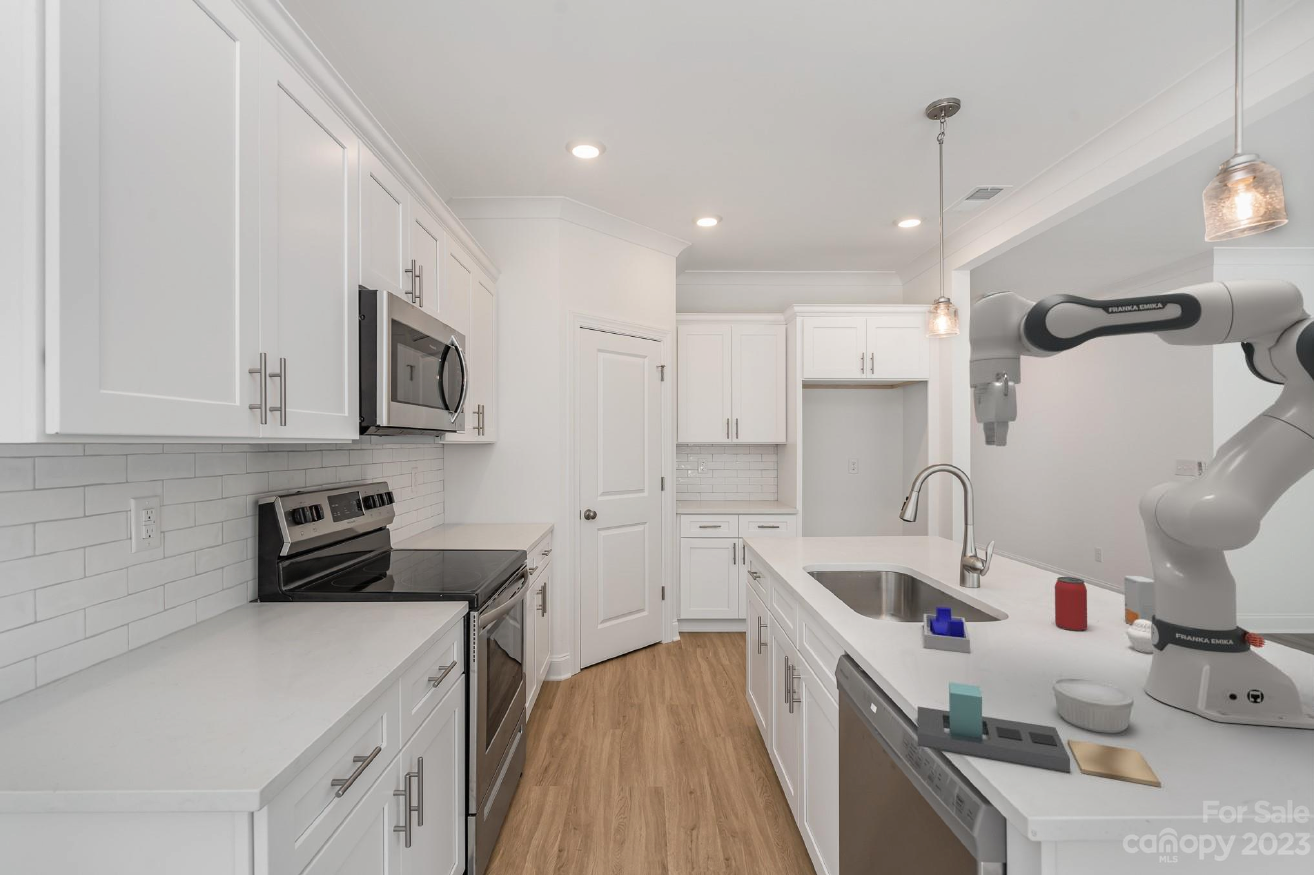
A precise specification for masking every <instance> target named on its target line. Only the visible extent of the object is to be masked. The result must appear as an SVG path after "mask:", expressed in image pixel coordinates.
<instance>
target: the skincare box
mask: <svg viewBox="0 0 1314 875" xmlns="http://www.w3.org/2000/svg"><path fill="white" fill-rule="evenodd" d="M1123 577H1124V622H1125V623H1126V624H1129V626H1130V625H1131V626H1132V625H1133V623H1134V621H1135V620H1138V619H1141V620H1142V619H1144V620H1147V621H1150V622H1152V615H1154V614H1155V598H1154V579H1151V578H1149V577H1144V576H1142V575H1124V576H1123Z"/></svg>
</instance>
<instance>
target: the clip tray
mask: <svg viewBox="0 0 1314 875" xmlns="http://www.w3.org/2000/svg"><path fill="white" fill-rule="evenodd" d="M951 618H952V620H962V621H963V622H964V638H958V637H949V636H940V635H933V634H929V633H928V628H930V619H936V614H928V613H923V637H924V638H923V642H924V643H923V645H924V647H923V648H925V649H931V650H932V649H933V650H939V651H940V650H941V651H948V652H957V653H966V654H967V653H968V654H970V653H971V639H970V636H969V635H970V634H969V631H968V628H967V627H968V626H967V623H966V619H965V617H960V616H951Z"/></svg>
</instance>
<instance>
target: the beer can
mask: <svg viewBox="0 0 1314 875" xmlns="http://www.w3.org/2000/svg"><path fill="white" fill-rule="evenodd" d="M1054 621H1055V622H1054V624H1055V625H1056V626H1057V627H1059V628H1060V629H1063V630H1067V631H1073V632H1081V631H1082V632H1083V631H1085V630H1087V628H1088V589H1087V586H1086V585H1085V581H1084V579H1081V578H1079V577H1078V578H1077V577H1071V576H1059V577H1057V578H1056V582H1055V584H1054Z"/></svg>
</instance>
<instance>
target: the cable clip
mask: <svg viewBox="0 0 1314 875" xmlns="http://www.w3.org/2000/svg"><path fill="white" fill-rule="evenodd" d="M935 615H936V619H930V627H929V631H930V633H932V634H931V635H940V636H949V637H958V638H964V622H963V621H962V620H952V618H951V617H952V609H951V608H950V607H948V606H947V607H945V606H944V607H943V606H936V608H935Z"/></svg>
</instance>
